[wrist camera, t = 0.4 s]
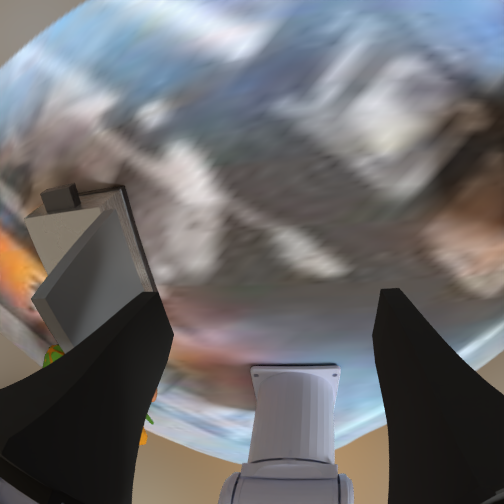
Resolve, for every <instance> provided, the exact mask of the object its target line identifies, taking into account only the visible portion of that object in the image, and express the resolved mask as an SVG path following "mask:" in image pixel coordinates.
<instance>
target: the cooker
mask: <svg viewBox="0 0 504 504" xmlns="http://www.w3.org/2000/svg"><path fill="white" fill-rule="evenodd" d="M41 197H42V200H43V203H44V204H43V205H41V206H40V207H39V208H37V209H36V210H35V211H33V212H32V213H31V214H29V215H28V216H27V217H26V218H24V221H25V224H26V226H27V229H28V231H29V234H30V236H31V238H32V241H33V243H34V246H35V248H36V250H37V252H38V255H39V257H40V259H41V261H42V263H43V266H44V268H45V270H46V272H47V274H48V275H49V274H50V273H51V271H52V270H53V269H54V268H55V266H56V265H57V264H58V263H59V261H60V260H61V259H62V258H63V256H64V255H65V254H66V253H67V252H68V250H69V249H70V248H71V247H72V246H73V244H74V243H75V242H76V241H77V240H78V239H79V237H80V236H81V235H82V234H83V233H84V232H85V231H86V229H87V228H88V227H89V226H90V225H91V224H92V223H93V222H94V220H95V219H96V218H97V217H98V216H99V215H100V214H101V213H102V212H103V211H104V210H110V209H116V211H117V214H118V217H119V220H120V223H121V227H122V230H123V233H124V236H125V239H126V242H127V245H128V248H129V251H130V253H131V256H132V259H133V262H134V265H135V268H136V270H137V273H138V276H139V278H140V281H141V284H142V286H143V289H144V292H158V291H157V288H156V285H155V282H154V279H153V276H152V274H151V271H150V268H149V265H148V262H147V259H146V256H145V253H144V250H143V246H142V243H141V240H140V237H139V234H138V231H137V227H136V224H135V221H134V217H133V214H132V210H131V207H130V203H129V200H128V196H127V193H126V189H125V186H120V187H113V188H107V189H101V190H95V191H89V192H83V193H78V192H77V189H76V185H75V183H73V184H68V185H64V186H59V187H55V188H51V189H47V190H45V191H44V192H42V193H41Z"/></svg>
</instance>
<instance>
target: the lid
mask: <svg viewBox="0 0 504 504" xmlns="http://www.w3.org/2000/svg"><path fill="white" fill-rule="evenodd" d="M142 292H144V289H143V286H142V284H141V281H140V278H139V276H138V273H137V270H136V268H135V265H134V262H133V259H132V256H131V253H130V251H129V248H128V245H127V242H126V239H125V236H124V233H123V230H122V227H121V223H120V220H119V217H118V214H117V211H116V209H110V210H104V211H103V212H102V213H101V214H100V215H99V216H98V217H97V218H96V219H95V220H94V222H93V223H92V224H91V225H90V226H89V227H88V228H87V229H86V231H85V232H84V233H83V234H82V235H81V236H80V237H79V239H78V240H77V241H76V242H75V243H74V244H73V246H72V247H71V248H70V249H69V250H68V252H67V253H66V254H65V255H64V256H63V258H62V259H61V260H60V261H59V263H58V264H57V265H56V266H55V268H54V269H53V270H52V271H51V273H50V274H49V275H48V276H47V278H46V279H45V280H44V282H43V283H42V284H41V286H40V287H39V288H38V290H37V291H36V292H35V294H34V295H33V296H32V298H31V300H32V302H33V304H34V305H35V307H36V309H37V310H38V312H39V314H40V316H41V317H42V319H43V321H44V322H45V324H46V325H47V327H48V329H49V330H50V332H51V333H52V335H53V336H54V338H55V339H56V341H57V342H58V344H59V345H60V347H61V348H62V350H63V351H64V353H65V354H66V353H67V352H68V351H70V350H71V349H73V348H74V347H75V346H77V345H78V344H79V343H80V342H82V341H83V340H84V339H85V338H87V337H88V336H89V335H90V334H92V333H93V332H94V331H95V330H97V329H98V328H99V327H100V326H101V325H103V324H104V323H105V322H106V321H107V320H109V319H110V318H111V317H112V316H113V315H114V314H116V313H117V312H118V311H119V310H120V309H121V308H123V307H124V306H125V305H126V304H127V303H129V302H130V301H131V300H132V299H134V298H135V297H136V296H137V295H139V294H140V293H142ZM156 397H157V389H156V392H155V394H154V397H153V399H152V402H154V401H155V400H156Z"/></svg>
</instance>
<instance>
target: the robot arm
mask: <svg viewBox="0 0 504 504" xmlns="http://www.w3.org/2000/svg"><path fill="white" fill-rule="evenodd" d="M173 337H174V333H173V331H172V328H171V325H170V323H169V320H168V317H167V315H166V312H165V309H164V307H163V304H162V301H161V298H160V296H159V293H158V292H142V293H140V294H139V295H137V296H136V297H135V298H134V299H132V300H131V301H130V302H129V303H127V304H126V305H125V306H124V307H123V308H121V309H120V310H119V311H118V312H117V313H116V314H114V315H113V316H112V317H111V318H110V319H109V320H107V321H106V322H105V323H104V324H103V325H101V326H100V327H99V328H98V329H97V330H95V331H94V332H93V333H92V334H90V335H89V336H88V337H87V338H85V339H84V340H83V341H82V342H80V343H79V344H78V345H77V346H75V347H74V348H73V349H71V350H70V351H68V352H67V353H66V354H64V355H63V356H61V357H60V358H58V359H57V360H55V361H54V362H52V363H51V364H49V365H47V366H46V367H44V368H42V369H40V370H39V371H37V372H35V373H34V374H32V375H30V376H28V377H26V378H24V379H23V380H20V381H18V382H16V383H14V384H12V385H9V386H7V387H5V388H2V389H0V504H132V489H133V479H134V472H135V463H136V458H137V453H138V448H139V443H140V439H141V434H142V430H143V426H144V422H145V419H146V416H147V413H148V410H149V407H150V404H151V402H152V399H153V397H154V394H155V392H156V389H157V387H158V384H159V381H160V379H161V376H162V374H163V371H164V369H165V366H166V363H167V361H168V357H169V353H170V350H171V345H172V341H173ZM372 337H373V347H374V356H375V364H376V369H377V374H378V378H379V383H380V388H381V393H382V398H383V403H384V408H385V413H386V419H387V426H388V436H389V493H388V504H504V395H503V394H502V393H501V392H499V391H498V390H497V389H495V388H494V387H493V386H491V385H490V384H489V383H488V382H487V381H486V380H484V379H483V378H482V377H481V376H480V375H479V374H478V373H477V372H476V371H474V370H473V369H472V368H471V367H470V366H469V365H468V364H467V363H466V362H465V361H464V360H463V359H462V358H461V357H460V356H459V355H458V354H457V353H456V352H455V351H454V350H453V349H452V348H451V347H450V346H449V345H448V344H447V343H446V342H445V341H444V340H443V338H442V337H441V336H440V335H439V334H438V333H437V332H436V330H435V329H434V328H433V327H432V326H431V325H430V324H429V322H428V321H427V320H426V319H425V318H424V317H423V315H422V314H421V313H420V312H419V311H418V310H417V308H416V307H415V306H414V305H413V304H412V302H411V301H410V300H409V299H408V298H407V297H406V295H405V294H404V293H403V292H402V291H401V290H400V289H399V288H391V289H381V291H380V297H379V303H378V308H377V314H376V319H375V324H374V329H373V334H372ZM250 373H251V378H252V382H253V387H254V392H255V397H256V401H257V404H256V411H255V418H254V424H253V431H252V438H251V444H250V451H249V457H248V463H243V464H242V469H241V473H240V472H235V473H233V474H232V475H231V476H230V477H228V478H227V479H226V480H225V482H224V484H223V486H222V489H221V493H220V497H219V501H218V504H354V491H353V484H352V481H351V479H349V478H348V477H347V476H346V474H338V465H337V464H334V406H335V401H336V396H337V390H338V385H339V379H340V373H341V368H340V367H339V366H253V367H251V370H250Z"/></svg>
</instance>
